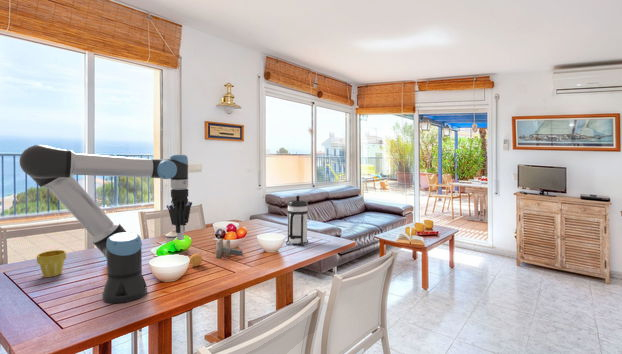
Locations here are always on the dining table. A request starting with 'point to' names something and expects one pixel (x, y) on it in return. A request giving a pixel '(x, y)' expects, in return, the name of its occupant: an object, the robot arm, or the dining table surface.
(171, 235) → the teacup with lid
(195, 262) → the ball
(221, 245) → the back pin left
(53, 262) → the plant pot
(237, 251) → the back wall
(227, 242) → the back pin right
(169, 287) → the dining table surface
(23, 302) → the dining table surface
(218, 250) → the front pin
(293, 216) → the coffee press
